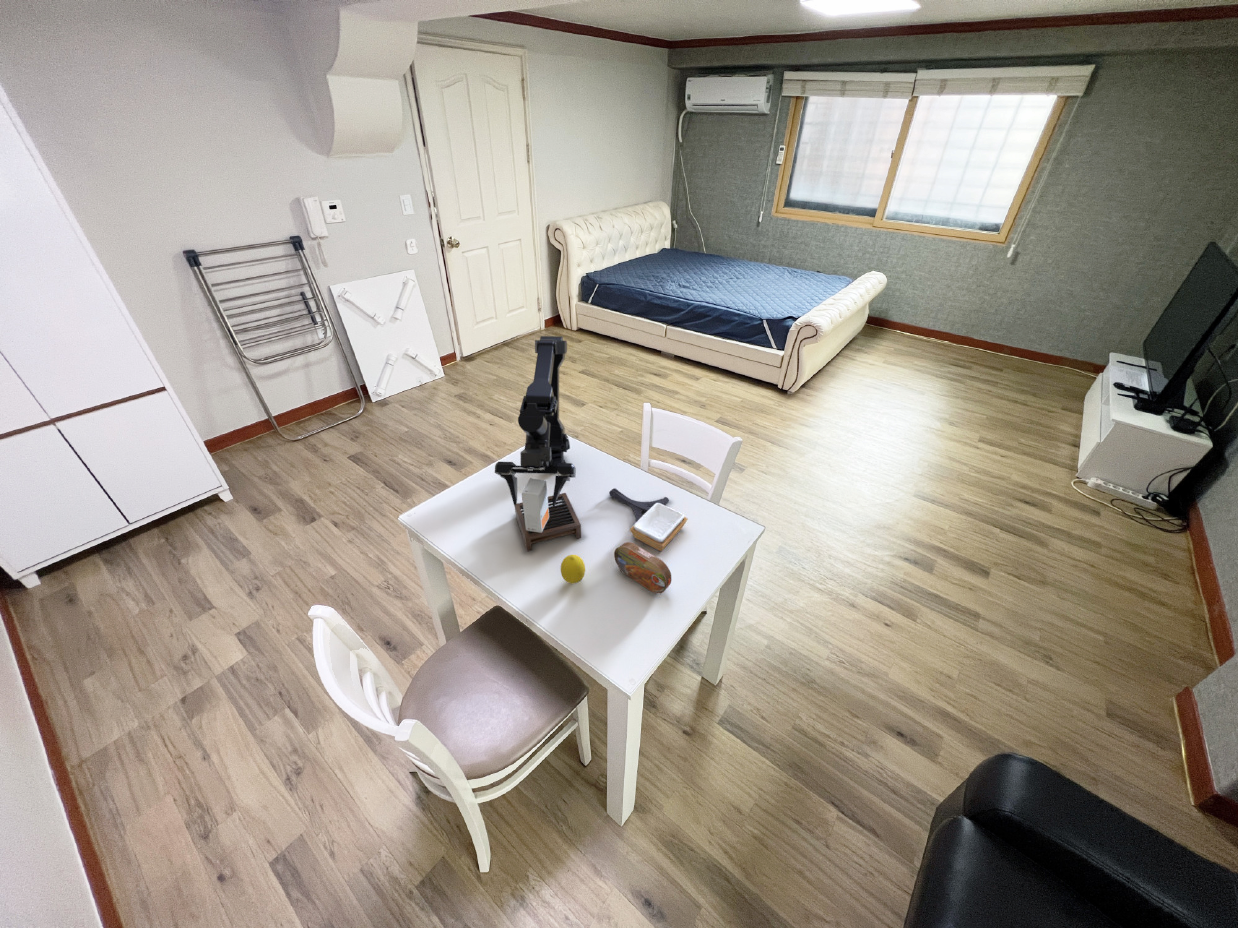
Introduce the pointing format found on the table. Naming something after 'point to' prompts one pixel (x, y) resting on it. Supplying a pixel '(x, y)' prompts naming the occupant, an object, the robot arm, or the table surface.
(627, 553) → the tin
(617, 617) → the table surface
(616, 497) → the bracket
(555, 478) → the robot arm
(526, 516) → the cosmetic box
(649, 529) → the soap dish
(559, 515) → the shoe rack
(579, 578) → the lemon
